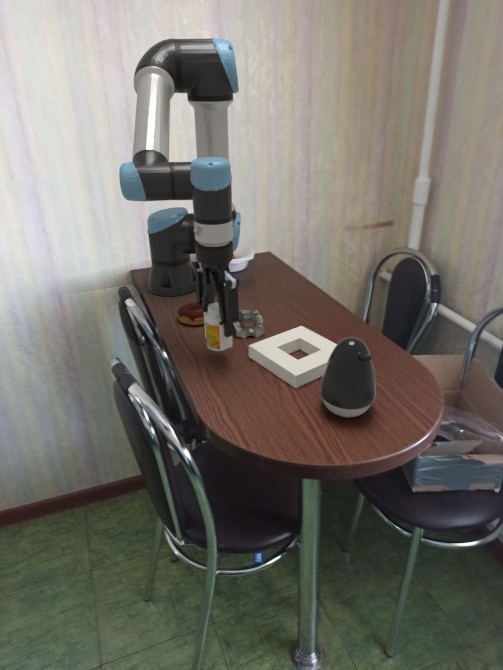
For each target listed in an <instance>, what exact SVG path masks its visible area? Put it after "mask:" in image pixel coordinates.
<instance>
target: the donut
mask: <svg viewBox="0 0 503 670" xmlns="http://www.w3.org/2000/svg"><path fill="white" fill-rule="evenodd" d="M177 314H178V316H177V318H178V320H179V321H180V322H181V323H183V324H184V325H190V326H200V325H204V312H203V311H202V308H201V305H200V306H198V304H197V301H193V302H189V303H185V304H184V305H182V306H180V307H179V308H178V310H177Z"/></svg>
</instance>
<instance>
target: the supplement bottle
mask: <svg viewBox="0 0 503 670" xmlns="http://www.w3.org/2000/svg"><path fill="white" fill-rule="evenodd" d="M208 313H209V314H207V316H206V318H205V323H206V338H205V339H206V346H207V348H208V349H209V350H211V351H214V352H215V351H216V352H221V351H222V352H223V351H225V350H228V349H229V348H227V349H225V350H221V349H220V330H219V322H221V316H220V311H219V305H218V301H215V302H214V303H211V304H209V305H208Z"/></svg>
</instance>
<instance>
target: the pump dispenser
mask: <svg viewBox="0 0 503 670" xmlns="http://www.w3.org/2000/svg"><path fill="white" fill-rule="evenodd" d="M336 344H337V345H336V347H335V348H334V349H333V351H332V353H331V355H330V357H329V359H328V361H327V364H326V366H325V369H324V372H323V376H321V381H320V385H319V393H320V396H321V398H322V399H321V400H322V401H323V404H324V406H325V407H326V408H327V410H328V411H330V412H331V413H332V414H333V415H336V416H339V417H342V418H355V417H358V416H361V415H362V414H364V413H365V412H366V411H368V410H369V408H370V407H371V405H372V404H373V402H374V401H375V399H376V393H377V383H376V372H375V367H374V363H373V357H372V355H371V353H370V350H369V348H368V346H367V344H366V343H365V342H364V340H362V339H360V338H359V337H356V336H348V337H344V338H343V339H341V340H340V341H339V342H338V343H336Z"/></svg>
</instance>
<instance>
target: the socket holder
mask: <svg viewBox="0 0 503 670" xmlns="http://www.w3.org/2000/svg"><path fill="white" fill-rule="evenodd" d="M337 344H338V343H335V342H333V341H331V340H329V339H327V338H326V337H324V336H322V335H320V334H318V333H317V332H315V331H313V330H311V329H309V328H308V327H305V326H303V325H299V326H297V327H294V328H291V329H289V330H288V329H287V330H286V331H283V332H281V333H278V334H275V335H273V336H270V337H267V338H265V339H261V340H259V341H257V342H253V343H251V344H249V345H248V358H250V359H251V360H252V361H255V363H257V364H258V365H260V366H261V367H263V368H265V369H266V370H268V371H269V372H270V373H272V374H273V375H275V376H277V377H278V378H279V379H281V380H282V381H284V382H286V383H287V384H288V385H290V386H291V387H293V388H294V389H298V388H299V387H301V386H304V385H306V384H309V383H310V382H312V381H315V380H317V379H319V378H322V376H323V372H324V369H325V366H326V364H327V361H328V359H329V357H330V355H331V353H332V351H333V349H334V348H335V347H336V345H337ZM299 350H300V351H302V352H303V353H306V354H307V355H306V356H304V357H301V358H299V359H297V358H296V357H294V356H292V355H291V353H294V352H297V351H299Z"/></svg>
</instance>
